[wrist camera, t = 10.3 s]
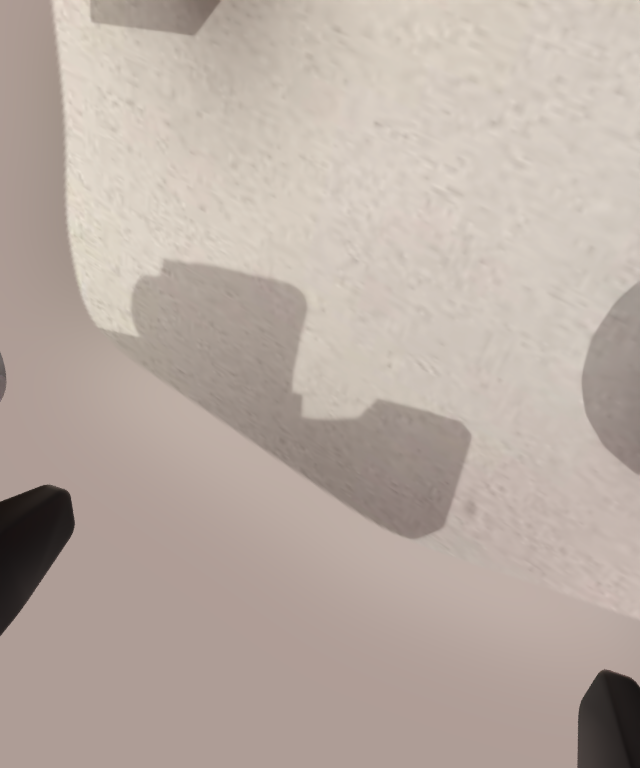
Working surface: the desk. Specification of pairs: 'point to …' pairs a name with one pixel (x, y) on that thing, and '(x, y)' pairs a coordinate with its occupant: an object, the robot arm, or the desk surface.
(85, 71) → the desk surface
